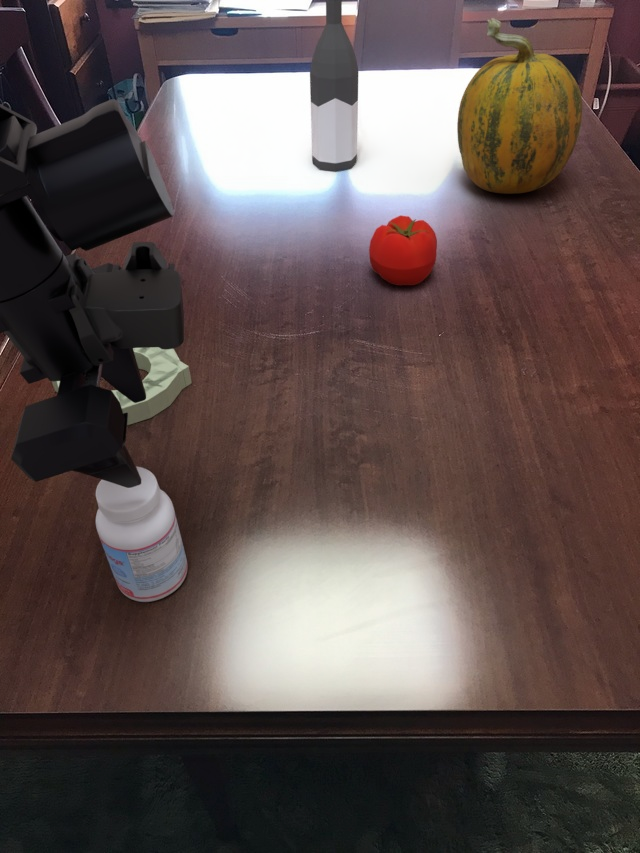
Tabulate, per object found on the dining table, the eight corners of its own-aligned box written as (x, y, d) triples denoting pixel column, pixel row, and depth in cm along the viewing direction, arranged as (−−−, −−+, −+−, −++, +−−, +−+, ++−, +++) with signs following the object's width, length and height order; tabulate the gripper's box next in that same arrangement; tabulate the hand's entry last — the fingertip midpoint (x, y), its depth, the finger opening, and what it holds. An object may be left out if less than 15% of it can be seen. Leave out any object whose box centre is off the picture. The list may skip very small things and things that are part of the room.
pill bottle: (111, 560, 61) (78, 472, 53) (178, 537, 62) (156, 449, 55) (125, 615, 56) (91, 529, 49) (197, 590, 58) (175, 502, 51)
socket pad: (110, 444, 71) (104, 426, 70) (40, 391, 78) (33, 374, 76) (206, 382, 79) (203, 365, 77) (134, 339, 85) (130, 322, 84)
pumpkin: (427, 184, 117) (442, 17, 100) (498, 154, 126) (523, -4, 109) (517, 221, 106) (551, 41, 89) (588, 185, 115) (630, 16, 98)
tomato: (389, 299, 91) (392, 247, 86) (358, 269, 97) (359, 219, 92) (449, 282, 94) (456, 231, 88) (415, 254, 100) (419, 204, 94)
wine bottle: (355, 153, 128) (358, -40, 107) (358, 171, 122) (362, -30, 101) (311, 155, 127) (306, -38, 107) (312, 172, 122) (307, -28, 101)
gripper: (134, 321, 34) (244, 503, 45) (147, 165, 48) (230, 335, 59) (-65, 388, 36) (89, 550, 46) (2, 218, 49) (110, 374, 60)
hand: (138, 439), depth 53 cm, fingers open, 9 cm apart
